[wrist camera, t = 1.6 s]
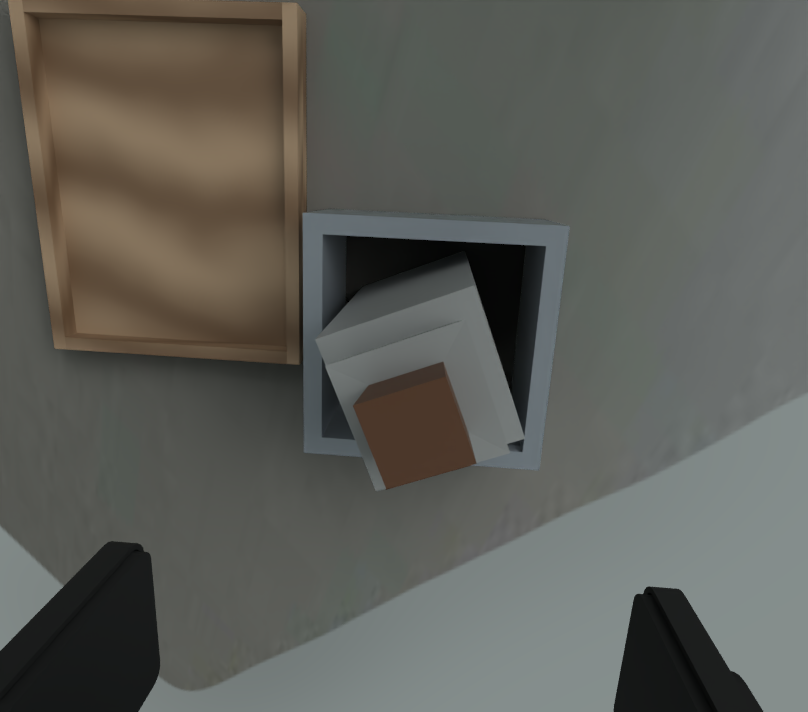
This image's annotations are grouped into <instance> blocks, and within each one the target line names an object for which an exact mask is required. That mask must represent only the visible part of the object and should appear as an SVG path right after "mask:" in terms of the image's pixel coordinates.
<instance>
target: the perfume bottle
mask: <svg viewBox="0 0 808 712" xmlns="http://www.w3.org/2000/svg"><path fill="white" fill-rule="evenodd" d="M315 341H316V343H317V346H318V348H319V351H320V353H321V355H322V358H323V360H324V363H325V365H326V366H325V367H326V370H327V372H328V375H329V377H330V380H331V382H332V385H333V387H334V390H335V392H336V394H337V397H338V399H339V402H340V404H341V407H342V409H343V412H344V414H345V416H346V419H347V421H348V424H349V426H350V429H351V431H352V434H353V436H354V439H355V441H356V443H357V446H358V448H359V451H360V453H361V456H362V458H363V461H364V463H365V465H366V468H367V470H368V473H369V475H370V478H371V480H372V483H373V485H374V488H375V490H376V491H380V490H383V489H386V490H387V489H390V488H394V487H397V486H401V485H404V484H408V483H411V482H415V481H418V480H422V479H425V478H429V477H432V476H436V475H439V474H443V473H446V472H450V471H453V470H457V469H460V468H464V467H467V466H471V465H474V464H477V463H478V462H481V461H485V460H488V459H491V458H495V457H498V456H502V455H505V454H509V453H510V451H509V448H508V445H507V444H509V443H512V442H516V441H519V440H522V439H525V437H524V434H523V430H522V427H521V424H520V421H519V418H518V415H517V411H516V408H515V405H514V402H513V399H512V395H511V392H510V389H509V386H508V383H507V380H506V376H505V373H504V370H503V367H502V364H501V360H500V357H499V354H498V351H497V348H496V345H495V342H494V339H493V336H492V333H491V329H490V326H489V323H488V320H487V317H486V314H485V311H484V308H483V305H482V302H481V299H480V296H479V293H478V290H477V286H476V283H475V280H474V277H473V274H472V271H471V268H470V265H469V262H468V259H467V256H466V253H465V251H462V252H459V253H457V254H454V255H451V256H448V257H445V258H442V259H439V260H437V261H434V262H431V263H428V264H425V265H422V266H419V267H417V268H414V269H411V270H408V271H405V272H402V273H399V274H397V275H394V276H391V277H388V278H385V279H382V280H380V281H377V282H374V283H371V284H368V285H365V286H363V287H362V288H361V289H360V290H359V291H358V292H357V293H356V295H355V296H354V297H353V298H352V299H351V300H350V301H349V302H348V303H347V305H346V306H345V307H344V308H343V309H342V310H341V311H340V312H339V313H338V315H337V316H336V317H335V318H334V319H333V320H332V321H331V322H330V323H329V324H328V326H327V327H326V328H325V329H324V330H323V331H322V332H321V333H320V334H319V336H318V337H317V338H316V339H315Z"/></svg>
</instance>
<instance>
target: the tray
mask: <svg viewBox="0 0 808 712" xmlns="http://www.w3.org/2000/svg"><path fill="white" fill-rule="evenodd" d="M8 4H9V12H10V19H11V27H12V34H13V42H14V49H15V57H16V64H17V72H18V79H19V87H20V94H21V102H22V109H23V117H24V124H25V131H26V139H27V146H28V154H29V161H30V169H31V176H32V184H33V191H34V199H35V206H36V214H37V221H38V229H39V236H40V244H41V251H42V259H43V266H44V274H45V281H46V289H47V296H48V304H49V311H50V319H51V326H52V334H53V341H54V349H69V350H84V351H99V352H114V353H129V354H144V355H159V356H174V357H189V358H204V359H219V360H234V361H249V362H264V363H279V364H294V365H300V364H301V362H302V361H303V213H304V212H307V154H306V14H305V12H304V11H303V10H302V9H301V7H300V6H299V5H298V4H297V3H282V2H247V1H211V0H8Z"/></svg>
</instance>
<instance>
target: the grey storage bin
mask: <svg viewBox="0 0 808 712" xmlns="http://www.w3.org/2000/svg"><path fill="white" fill-rule="evenodd" d="M569 228H570V226H568V225H564V224H560V223H557V222H553V221H550V220H546V219H527V218H507V217H487V216H467V215H447V214H426V213H406V212H386V211H366V210H346V209H325V210H318V211H311V212H304V213H303V391H304V453H315V454H328V455H341V456H355V457H362V456H361V453H360V451H359V448H358V446H357V443H356V441H355V439H354V436H353V434H352V431H351V429H350V426H349V424H348V421H347V419H346V416H345V414H344V412H343V409H342V407H341V404H340V402H339V399H338V397H337V394H336V392H335V390H334V387H333V385H332V382H331V380H330V377H329V375H328V372H327V370H326V367H325V366H326V365H325V363H324V360H323V358H322V355H321V353H320V351H319V348H318V346H317V343H316V341H315V339H316V338H317V337H318V336H319V334H320V333H321V332H322V331H323V330H324V329H325V328H326V327H327V326H328V324H329V323H330V322H331V321H332V320H333V319H334V318H335V317H336V316H337V315H338V313H339V312H340V311H341V310H342V309H343V308H344V307H345V301H346V240H347V236H363V237H382V238H401V239H420V240H439V241H458V242H477V243H496V244H516V245H526V249H525V259H524V268H523V278H522V288H521V297H520V307H519V316H518V326H517V335H516V345H515V354H514V364H513V374H512V383H511V395H512V399H513V402H514V405H515V408H516V411H517V415H518V418H519V421H520V424H521V427H522V430H523V434H524V437H525V439H522V440H519V441H516V442H512V443H509V444H507V445H508V448H509V451H510V453H509V454H505V455H502V456H498V457H495V458H491V459H488V460H485V461H481V462H478V463H477V464H474V466H487V467H500V468H513V469H527V470H539V468H540V460H541V452H542V444H543V436H544V428H545V420H546V412H547V404H548V396H549V388H550V380H551V372H552V364H553V356H554V348H555V340H556V332H557V324H558V316H559V308H560V300H561V292H562V284H563V276H564V268H565V260H566V252H567V244H568V236H569Z"/></svg>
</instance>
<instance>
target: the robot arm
mask: <svg viewBox="0 0 808 712" xmlns="http://www.w3.org/2000/svg"><path fill="white" fill-rule="evenodd" d="M159 669H160V655H159V644H158V632H157V621H156V609H155V598H154V586H153V575H152V563H151V556H150V554H149V553H148V552H144V550H143V547H142V546H141V545H140V544H138V543H126V542H114V541H111V542H108V543H107V544H105V545H104V546H103V547H102V548H101V549H100V550H99V551H98V552H97V553H96V554H95V555H94V556H93V557H92V558H91V559H90V560H89V561H88V562H87V563H86V564H85V565H84V566H83V567H82V569H81V570H80V571H79V572H78V573H77V574H76V575H75V576H74V577H73V578H72V579H71V580H70V581H69V582H68V583H67V584H66V585H65V586H64V587H63V588H62V589H61V590H60V591H59V592H58V593H57V594H56V595H55V596H54V597H53V598H52V599H51V600H50V601H49V602H48V603H47V604H46V605H45V606H44V607H43V608H42V609H41V610H40V611H39V612H38V613H37V614H36V615H35V616H34V617H33V618H32V619H31V620H30V621H29V623H28V624H26V625H25V626H24V627H23V628H22V629H21V631H19V633H18V634H17V635H16V636H15V637H14V638H13V639H12V640H11V641H10V642H9V643H8V644H7V645H6V646H5V647H4V648H3V649H2V650H1V651H0V712H138V711H139V710H140V708H141V706H142V705H143V702H144V701H145V700H146V698H147V696H148V694H149V693H150V691H151V690H152V688H153V686H154V684H155V682H156V680H157V677H158V674H159ZM614 712H763V710H762V709H761V707H760V706H759V704H758V702H757V701H756V699H755V697H754V696H753V694H752V693H751V691H750V689H749V688H748V686H747V685H746V683H745V682H744V680H743V679H742V678H741V677H740V676H739V675H738V674H736V673H735V672H732V671H730V670H729V668H728V666H727V665H726V663H725V661H724V660H723V658H722V656H721V655H720V654H719V652H718V650H717V648H716V647H715V645H714V643H713V641H712V640H711V638H710V636H709V635H708V633H707V631H706V630H705V628H704V627H703V625H702V623H701V622H700V620H699V618H698V617H697V615H696V613H695V612H694V610H693V609H692V607H691V605H690V603H689V602H688V600H687V598H686V597H685V595H684V594H683V592H682V591H681V590H679V589H671V588H659V587H646V589H645V590H644V593H643V594H637V595H635V597H634V601H633V607H632V612H631V617H630V623H629V628H628V634H627V639H626V644H625V650H624V655H623V661H622V666H621V671H620V677H619V682H618V687H617V693H616V698H615V704H614Z"/></svg>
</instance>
